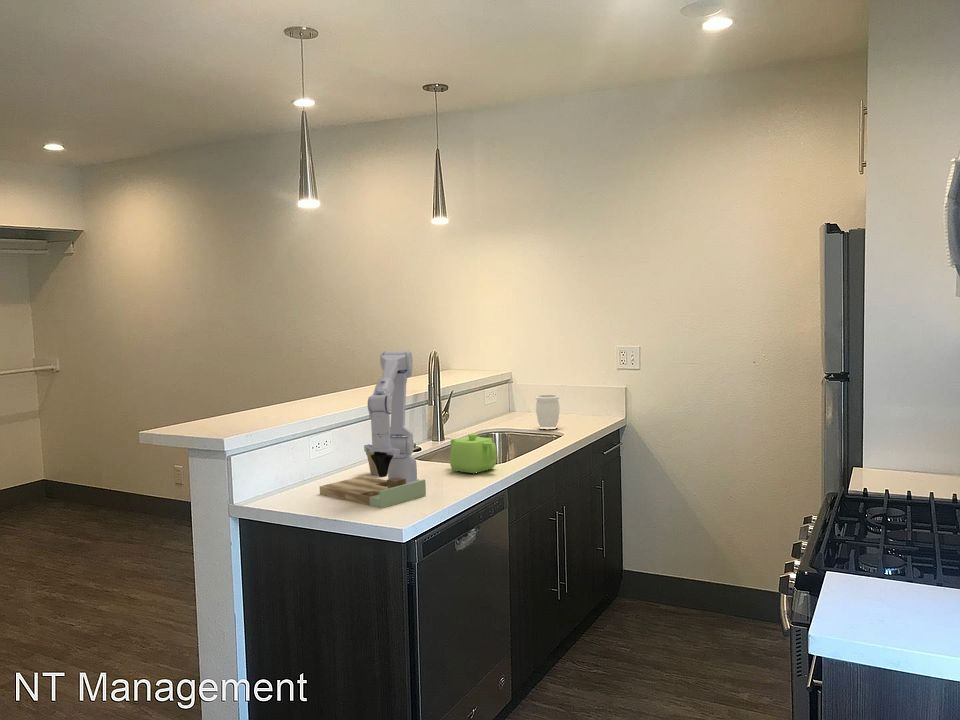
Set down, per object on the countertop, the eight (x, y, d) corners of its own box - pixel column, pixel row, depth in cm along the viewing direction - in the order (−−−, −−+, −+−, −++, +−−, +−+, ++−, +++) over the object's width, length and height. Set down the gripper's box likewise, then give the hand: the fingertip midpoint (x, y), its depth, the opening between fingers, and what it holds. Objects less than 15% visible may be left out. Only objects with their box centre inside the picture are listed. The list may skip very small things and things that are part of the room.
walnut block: (397, 490, 250) (396, 477, 250) (406, 491, 247) (405, 478, 247) (387, 492, 247) (387, 479, 247) (396, 494, 244) (395, 481, 244)
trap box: (363, 483, 272) (362, 468, 272) (426, 495, 252) (425, 479, 252) (319, 494, 259) (319, 478, 258) (382, 508, 239) (381, 491, 238)
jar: (563, 428, 369) (563, 395, 368) (553, 431, 360) (552, 398, 359) (543, 426, 375) (542, 394, 373) (532, 430, 366) (531, 397, 365)
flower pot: (375, 477, 280) (373, 453, 279) (360, 473, 287) (359, 449, 286) (397, 473, 286) (396, 449, 285) (383, 469, 293) (382, 445, 292)
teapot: (472, 462, 301) (471, 427, 300) (515, 467, 288) (514, 431, 287) (438, 471, 287) (437, 435, 286) (482, 478, 274) (481, 439, 273)
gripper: (355, 433, 252) (357, 476, 253) (386, 437, 242) (388, 482, 244) (373, 429, 257) (375, 471, 258) (404, 433, 248) (406, 477, 249)
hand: (383, 476), depth 251 cm, fingers closed
